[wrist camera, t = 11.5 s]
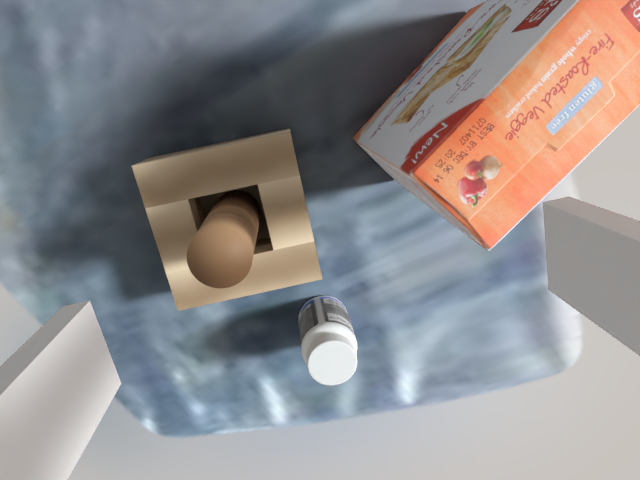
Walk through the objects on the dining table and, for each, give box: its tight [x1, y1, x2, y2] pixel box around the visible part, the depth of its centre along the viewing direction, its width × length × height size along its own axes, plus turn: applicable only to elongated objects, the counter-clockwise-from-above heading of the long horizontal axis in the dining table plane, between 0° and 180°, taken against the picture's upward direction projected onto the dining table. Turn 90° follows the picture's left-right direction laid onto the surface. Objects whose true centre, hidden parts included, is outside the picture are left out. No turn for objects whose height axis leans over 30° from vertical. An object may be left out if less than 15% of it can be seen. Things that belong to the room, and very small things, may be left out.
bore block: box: [132, 128, 322, 311], centre depth 40 cm, size 12×12×5 cm
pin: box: [187, 190, 261, 288], centre depth 35 cm, size 4×4×12 cm
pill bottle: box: [299, 296, 357, 385], centre depth 42 cm, size 5×5×8 cm
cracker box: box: [353, 0, 640, 251], centre depth 30 cm, size 14×6×21 cm, turn 137°
